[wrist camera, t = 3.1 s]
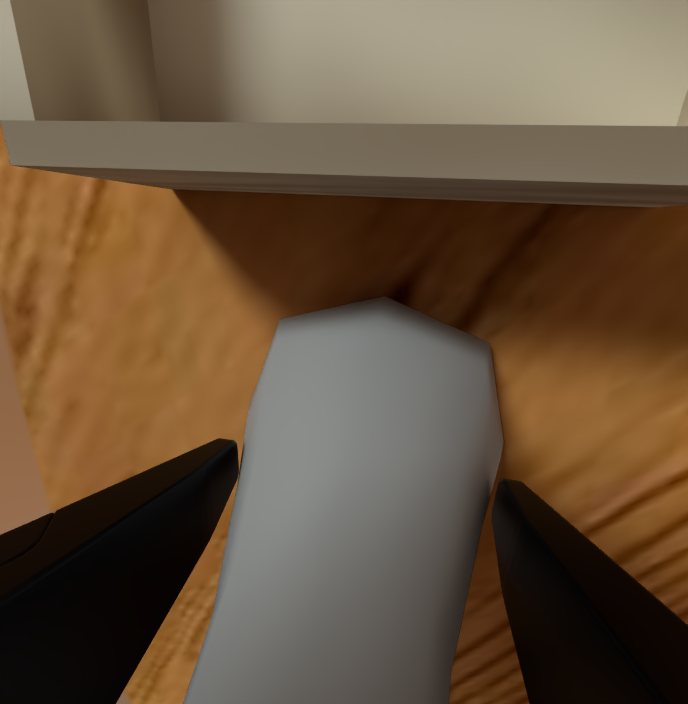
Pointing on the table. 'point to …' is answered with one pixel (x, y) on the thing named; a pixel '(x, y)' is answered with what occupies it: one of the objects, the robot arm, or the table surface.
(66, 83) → the crate
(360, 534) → the flask
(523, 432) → the table surface
